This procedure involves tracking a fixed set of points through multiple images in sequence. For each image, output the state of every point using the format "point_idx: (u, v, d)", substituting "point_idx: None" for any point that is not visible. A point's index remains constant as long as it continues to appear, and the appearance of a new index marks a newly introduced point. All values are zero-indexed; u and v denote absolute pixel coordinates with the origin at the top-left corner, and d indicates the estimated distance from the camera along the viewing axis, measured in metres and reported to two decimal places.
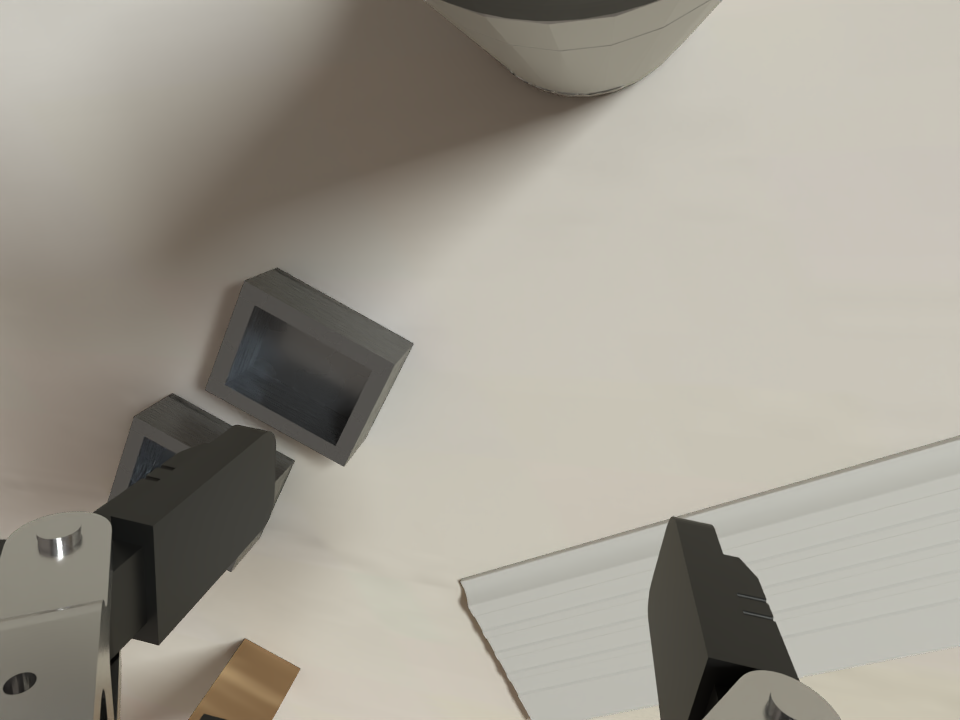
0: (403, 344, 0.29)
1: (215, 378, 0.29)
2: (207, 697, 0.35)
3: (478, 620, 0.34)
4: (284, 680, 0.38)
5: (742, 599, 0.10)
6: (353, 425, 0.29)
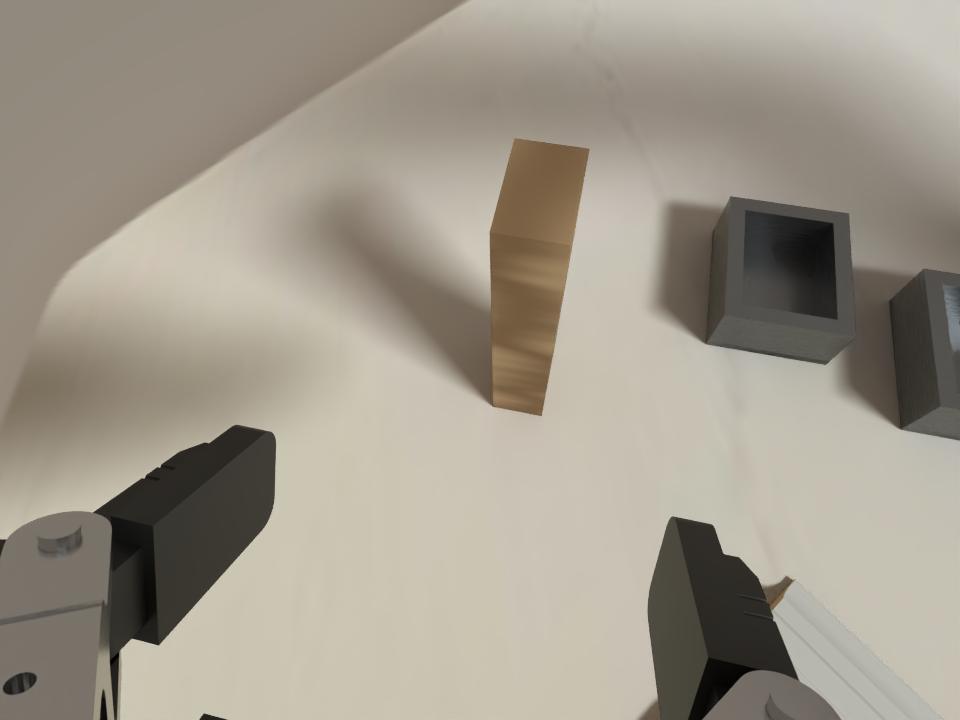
0: None
1: (943, 276, 0.30)
2: None
3: None
4: None
5: (742, 599, 0.10)
6: None
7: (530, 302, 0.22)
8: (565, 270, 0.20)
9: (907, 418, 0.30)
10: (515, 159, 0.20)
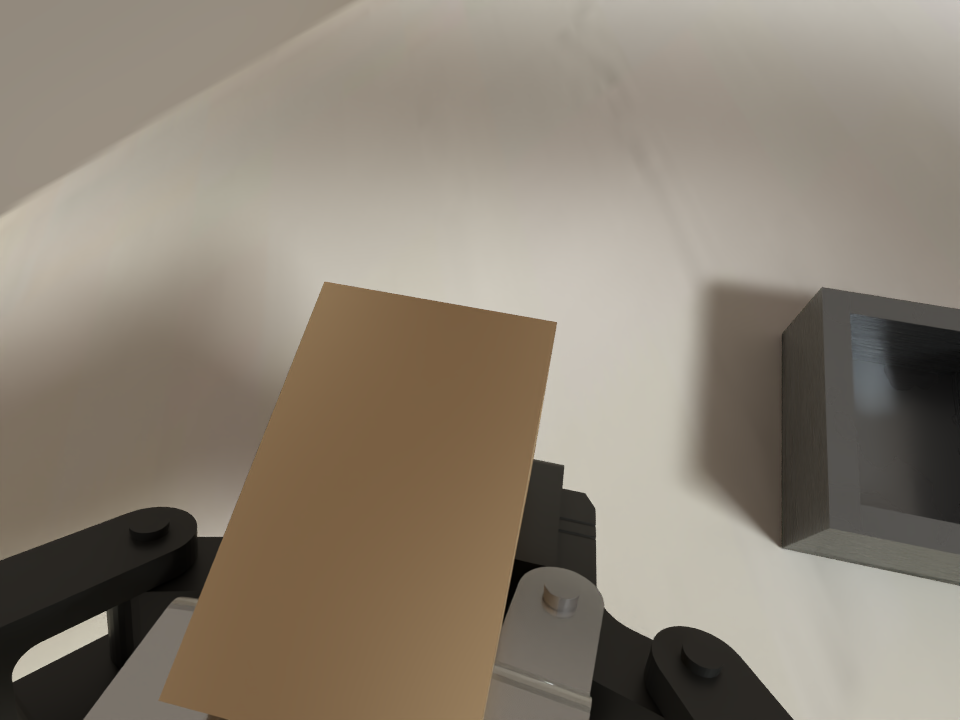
0: None
1: None
2: None
3: None
4: None
5: (573, 523, 0.11)
6: None
7: None
8: None
9: None
10: (313, 358, 0.06)
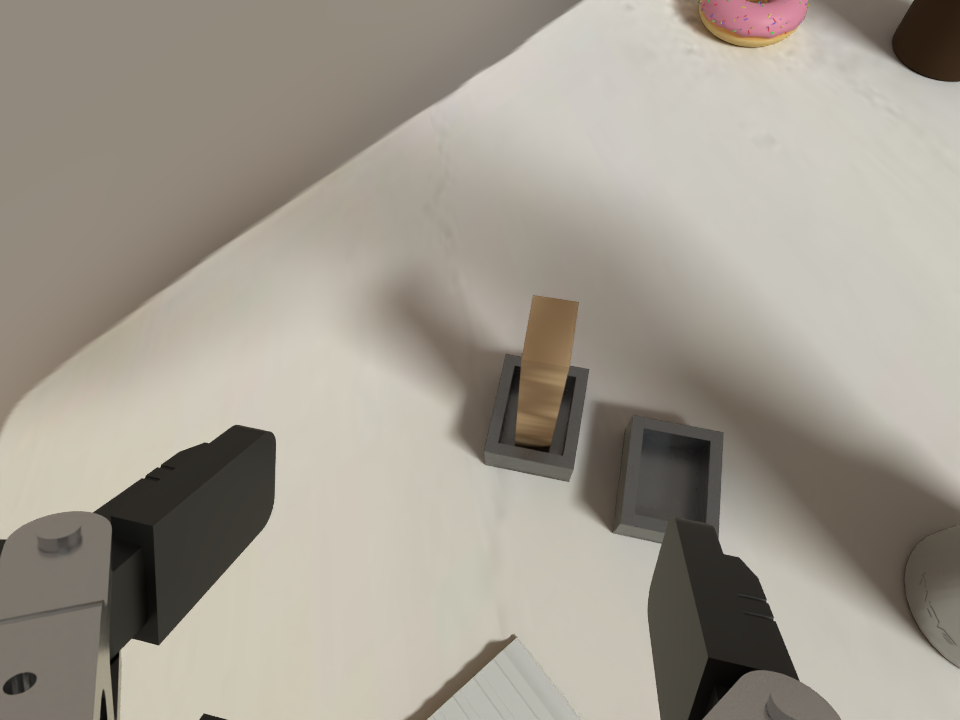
0: None
1: (645, 421, 0.42)
2: None
3: (490, 664, 0.38)
4: None
5: (742, 599, 0.10)
6: (657, 524, 0.39)
7: (544, 391, 0.35)
8: (566, 377, 0.33)
9: (614, 526, 0.41)
10: (534, 309, 0.33)
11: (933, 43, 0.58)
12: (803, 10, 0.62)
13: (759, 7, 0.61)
